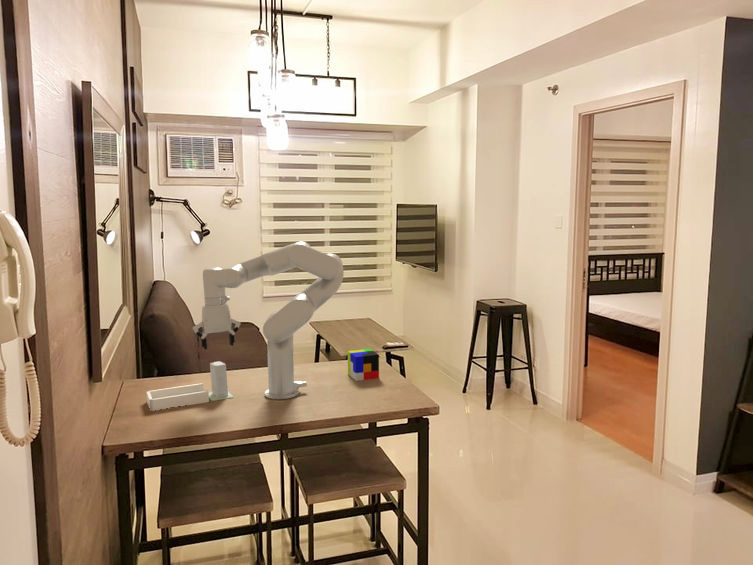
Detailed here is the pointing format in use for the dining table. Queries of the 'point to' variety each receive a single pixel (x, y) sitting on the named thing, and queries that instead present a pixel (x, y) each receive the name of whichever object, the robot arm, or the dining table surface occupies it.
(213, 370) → the skincare box
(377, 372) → the puzzle toy
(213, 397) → the mat
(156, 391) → the lane
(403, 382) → the dining table surface
